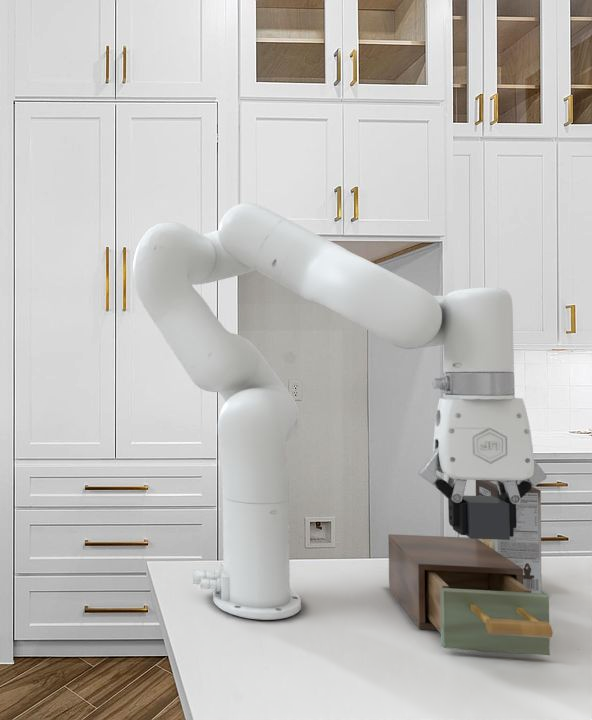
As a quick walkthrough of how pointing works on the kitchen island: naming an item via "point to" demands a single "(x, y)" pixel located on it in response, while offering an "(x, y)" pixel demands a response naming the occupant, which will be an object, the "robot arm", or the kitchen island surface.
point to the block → (487, 518)
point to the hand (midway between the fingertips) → (482, 531)
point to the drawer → (487, 612)
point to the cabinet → (437, 566)
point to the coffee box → (520, 534)
